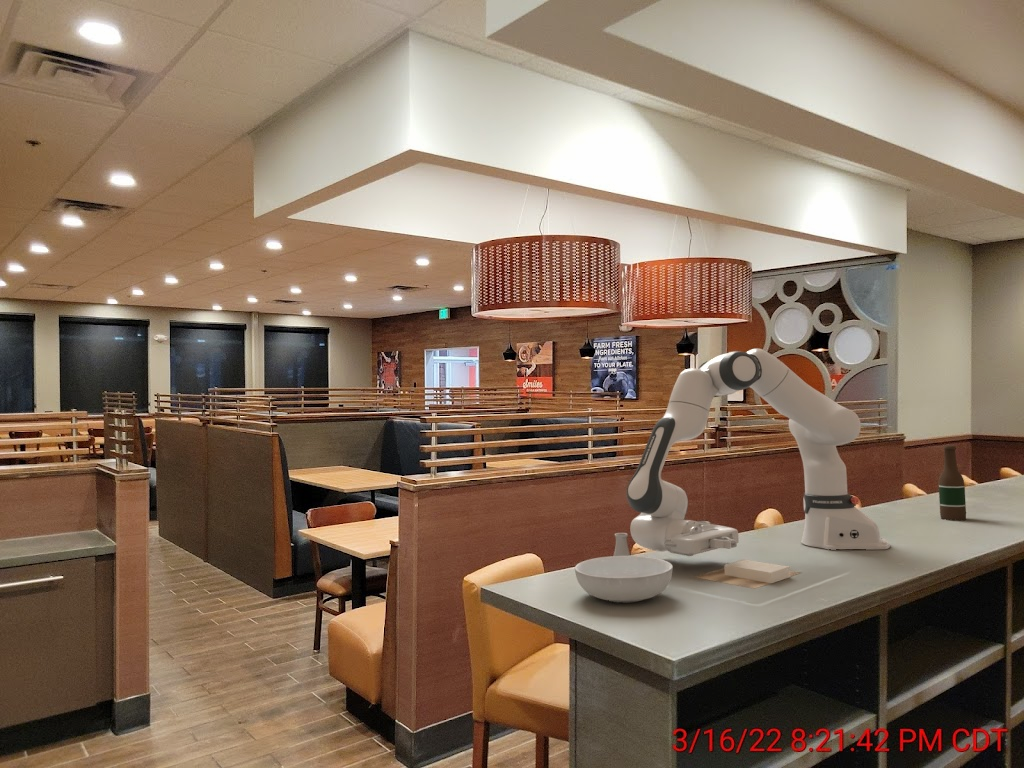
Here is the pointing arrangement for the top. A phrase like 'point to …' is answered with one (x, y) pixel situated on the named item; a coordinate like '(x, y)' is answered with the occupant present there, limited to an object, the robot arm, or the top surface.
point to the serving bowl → (624, 577)
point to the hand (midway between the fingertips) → (733, 544)
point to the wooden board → (735, 579)
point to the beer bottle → (951, 488)
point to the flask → (621, 545)
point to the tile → (757, 571)
